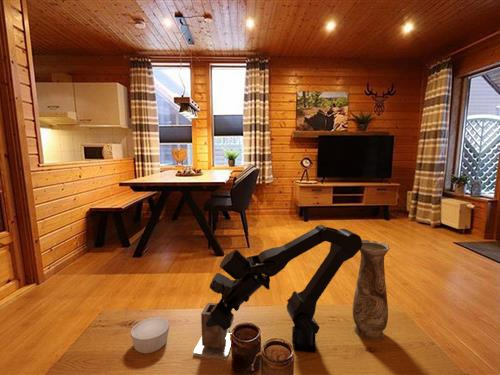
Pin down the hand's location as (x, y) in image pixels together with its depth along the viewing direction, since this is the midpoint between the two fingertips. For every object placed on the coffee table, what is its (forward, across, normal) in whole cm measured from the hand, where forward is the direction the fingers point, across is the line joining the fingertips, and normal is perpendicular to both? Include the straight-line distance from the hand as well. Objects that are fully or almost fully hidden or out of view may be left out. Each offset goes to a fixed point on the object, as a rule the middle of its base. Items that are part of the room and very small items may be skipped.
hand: (210, 319), depth 79 cm
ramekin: (+19, +2, -7) cm, 21 cm away
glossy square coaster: (+5, 0, +7) cm, 9 cm away
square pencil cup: (+4, 0, +6) cm, 7 cm away
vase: (-29, -14, +41) cm, 52 cm away
